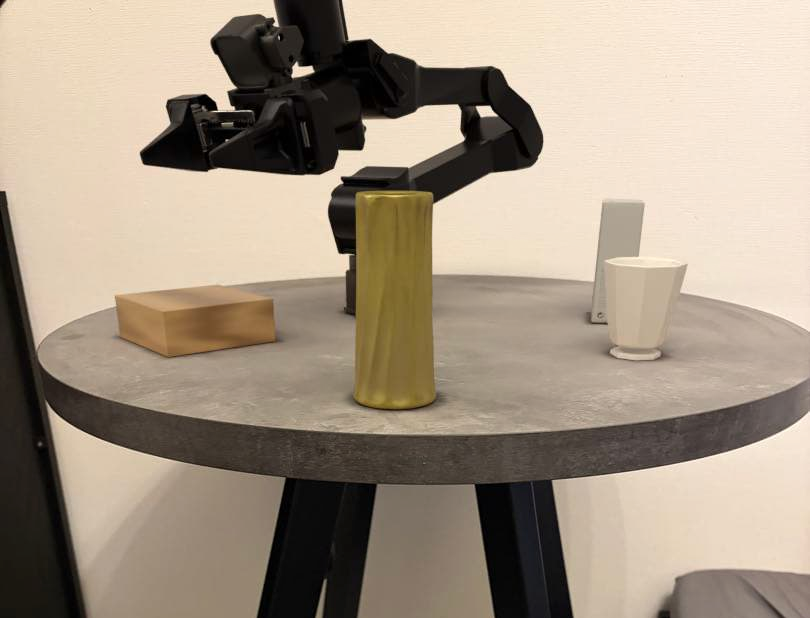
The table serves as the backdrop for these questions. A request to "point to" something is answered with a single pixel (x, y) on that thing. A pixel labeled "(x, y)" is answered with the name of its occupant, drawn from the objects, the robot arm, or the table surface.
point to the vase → (394, 300)
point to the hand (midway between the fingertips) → (175, 159)
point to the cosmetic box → (615, 244)
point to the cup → (641, 303)
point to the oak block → (195, 319)
